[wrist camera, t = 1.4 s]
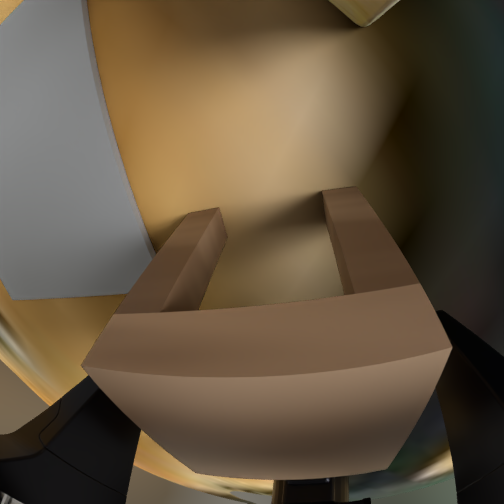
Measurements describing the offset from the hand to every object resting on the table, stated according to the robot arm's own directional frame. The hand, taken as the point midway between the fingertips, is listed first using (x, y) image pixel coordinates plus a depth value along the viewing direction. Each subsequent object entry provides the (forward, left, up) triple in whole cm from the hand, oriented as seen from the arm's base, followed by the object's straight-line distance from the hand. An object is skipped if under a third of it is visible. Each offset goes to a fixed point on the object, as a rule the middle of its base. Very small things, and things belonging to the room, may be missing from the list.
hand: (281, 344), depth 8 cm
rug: (+8, +12, -4) cm, 15 cm away
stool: (0, 0, -4) cm, 4 cm away
